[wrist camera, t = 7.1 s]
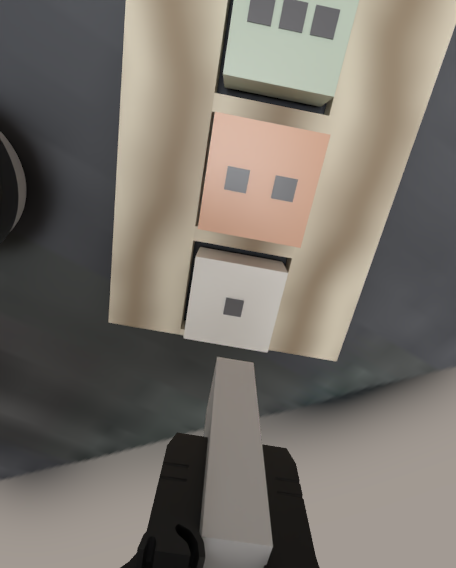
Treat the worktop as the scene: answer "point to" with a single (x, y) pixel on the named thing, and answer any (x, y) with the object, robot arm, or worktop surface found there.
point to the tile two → (261, 179)
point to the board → (206, 101)
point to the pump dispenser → (10, 188)
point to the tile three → (288, 48)
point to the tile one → (234, 299)
